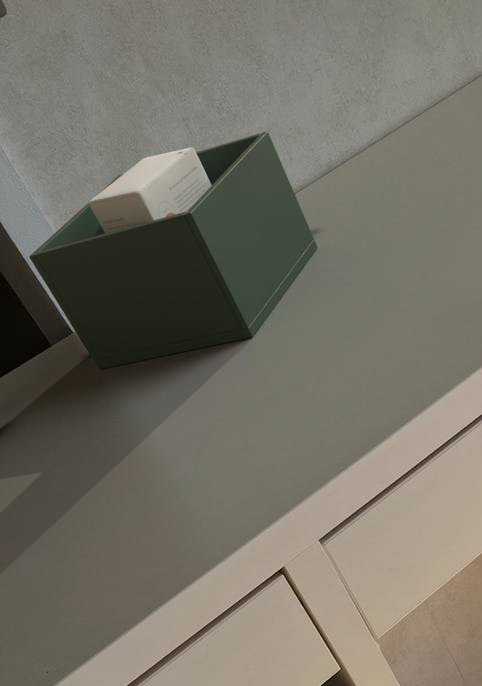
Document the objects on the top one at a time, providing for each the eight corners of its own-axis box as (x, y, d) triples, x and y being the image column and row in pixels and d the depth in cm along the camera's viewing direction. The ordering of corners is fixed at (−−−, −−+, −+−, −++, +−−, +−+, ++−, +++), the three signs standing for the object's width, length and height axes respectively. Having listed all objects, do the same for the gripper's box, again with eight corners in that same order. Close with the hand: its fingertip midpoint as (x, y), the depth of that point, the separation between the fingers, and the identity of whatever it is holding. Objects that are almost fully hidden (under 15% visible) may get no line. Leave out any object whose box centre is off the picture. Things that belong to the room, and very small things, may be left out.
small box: (206, 278, 92) (143, 156, 85) (255, 271, 89) (194, 144, 82) (155, 326, 87) (84, 201, 80) (205, 320, 84) (136, 190, 77)
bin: (98, 369, 87) (28, 256, 80) (175, 282, 96) (118, 175, 90) (252, 337, 81) (190, 212, 74) (318, 247, 91) (267, 130, 84)
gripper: (10, -357, 62) (148, -44, 73) (-157, -265, 67) (-5, 14, 78) (-63, -347, 57) (97, -13, 68) (-236, -249, 63) (-63, 47, 73)
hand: (42, 2), depth 73 cm, fingers open, 8 cm apart
